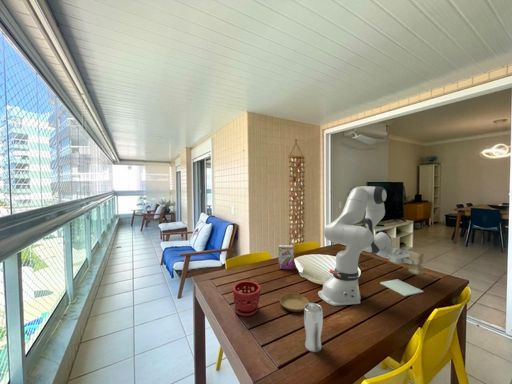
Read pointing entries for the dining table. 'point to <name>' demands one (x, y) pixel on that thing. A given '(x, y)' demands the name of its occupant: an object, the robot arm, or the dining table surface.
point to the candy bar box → (286, 257)
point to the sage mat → (401, 287)
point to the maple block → (416, 262)
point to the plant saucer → (293, 302)
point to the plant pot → (246, 298)
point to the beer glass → (313, 326)
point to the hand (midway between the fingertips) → (416, 262)
